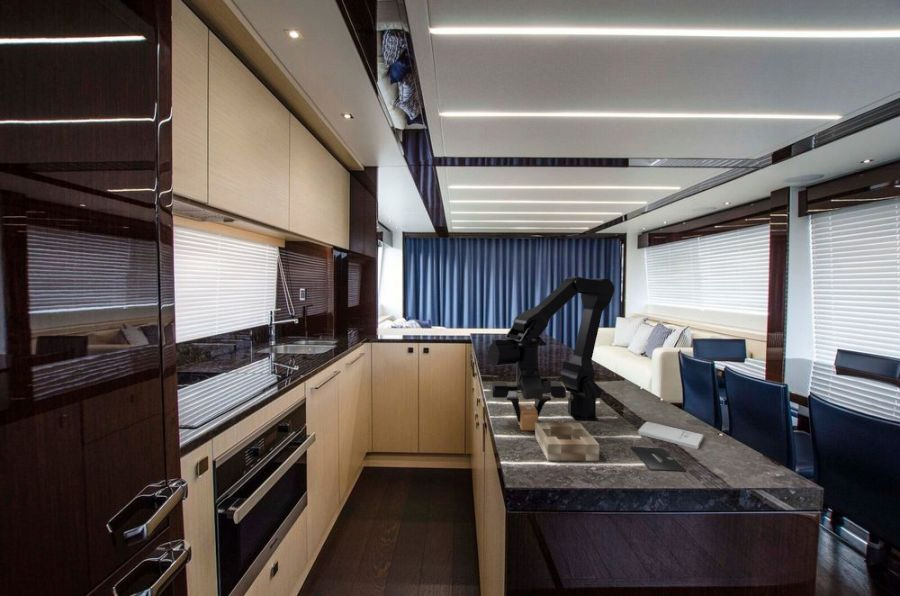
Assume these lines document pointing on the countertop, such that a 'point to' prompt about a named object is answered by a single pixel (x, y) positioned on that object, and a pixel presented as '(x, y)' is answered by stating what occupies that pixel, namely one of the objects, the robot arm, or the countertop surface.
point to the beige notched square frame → (566, 442)
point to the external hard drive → (671, 434)
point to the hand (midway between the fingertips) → (527, 421)
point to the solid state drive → (657, 459)
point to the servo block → (527, 416)
